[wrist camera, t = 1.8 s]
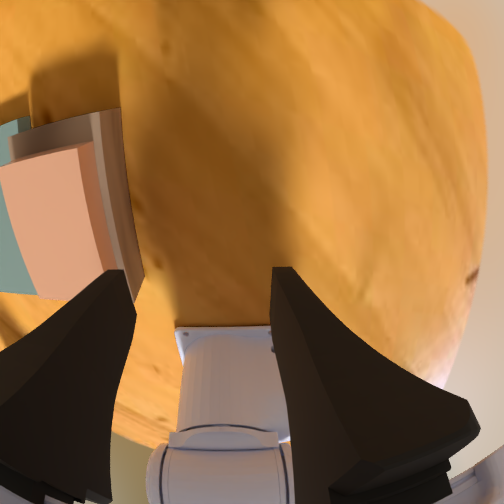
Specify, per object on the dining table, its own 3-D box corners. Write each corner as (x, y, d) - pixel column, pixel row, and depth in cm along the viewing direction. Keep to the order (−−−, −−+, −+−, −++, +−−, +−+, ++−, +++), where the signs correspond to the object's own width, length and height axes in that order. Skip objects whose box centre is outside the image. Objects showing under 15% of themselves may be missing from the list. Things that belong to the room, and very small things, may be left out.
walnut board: (120, 107, 14) (99, 111, 11) (144, 276, 20) (134, 302, 18) (34, 128, 14) (7, 137, 11) (68, 275, 20) (53, 298, 17)
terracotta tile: (93, 140, 12) (77, 148, 11) (122, 284, 17) (113, 302, 15) (15, 158, 12) (-3, 167, 10) (51, 282, 16) (39, 298, 15)
